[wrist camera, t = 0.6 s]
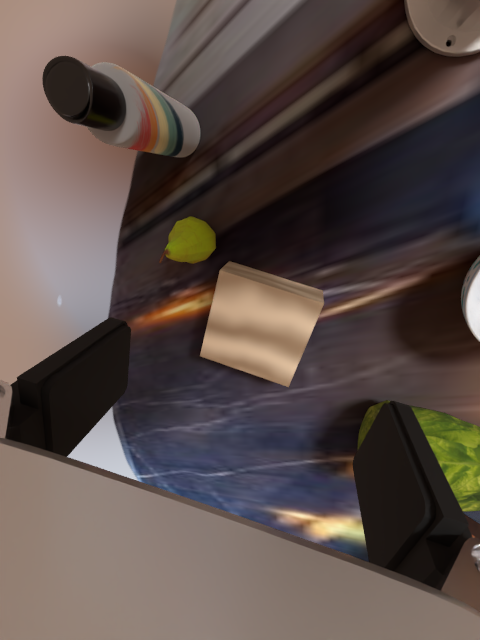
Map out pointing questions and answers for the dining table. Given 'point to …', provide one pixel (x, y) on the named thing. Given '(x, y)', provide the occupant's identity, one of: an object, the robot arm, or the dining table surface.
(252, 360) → the plinth
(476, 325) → the chinaware
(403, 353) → the dining table surface
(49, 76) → the lotion bottle
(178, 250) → the fruit
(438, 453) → the lettuce
